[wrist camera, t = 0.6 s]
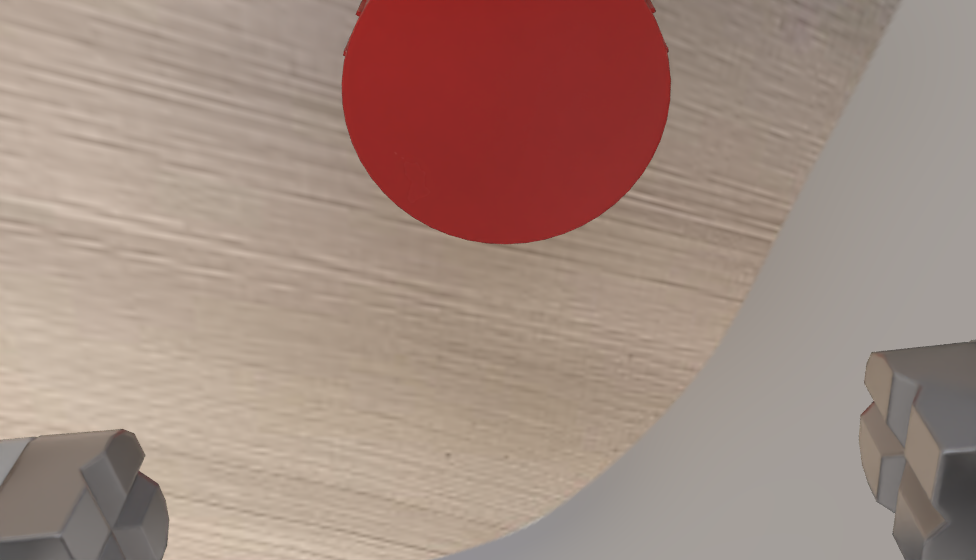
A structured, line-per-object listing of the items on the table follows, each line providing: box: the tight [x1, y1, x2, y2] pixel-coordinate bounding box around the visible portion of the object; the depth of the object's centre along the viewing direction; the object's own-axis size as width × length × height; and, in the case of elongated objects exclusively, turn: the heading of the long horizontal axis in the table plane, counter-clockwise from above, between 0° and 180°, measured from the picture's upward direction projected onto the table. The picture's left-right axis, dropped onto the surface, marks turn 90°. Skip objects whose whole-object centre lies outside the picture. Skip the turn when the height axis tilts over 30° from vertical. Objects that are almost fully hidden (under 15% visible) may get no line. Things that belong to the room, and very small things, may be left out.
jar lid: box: [342, 0, 671, 244], centre depth 20 cm, size 7×7×2 cm
